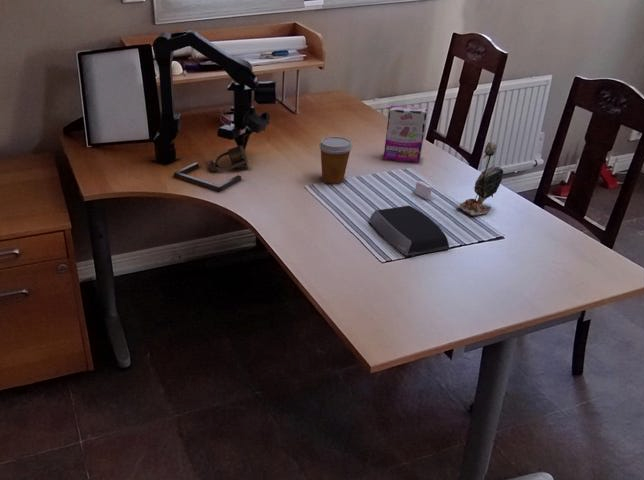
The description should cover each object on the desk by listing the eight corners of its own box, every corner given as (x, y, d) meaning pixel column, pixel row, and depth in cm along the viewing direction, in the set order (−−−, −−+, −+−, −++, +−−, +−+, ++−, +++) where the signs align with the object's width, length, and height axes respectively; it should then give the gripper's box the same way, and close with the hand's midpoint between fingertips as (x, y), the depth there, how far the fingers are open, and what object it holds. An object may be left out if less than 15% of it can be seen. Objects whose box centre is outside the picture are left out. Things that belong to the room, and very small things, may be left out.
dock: (173, 177, 197) (173, 172, 196) (196, 166, 203) (195, 162, 202) (219, 192, 186) (219, 187, 185) (241, 180, 192) (241, 175, 192)
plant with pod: (504, 212, 168) (523, 140, 158) (468, 218, 166) (484, 146, 155) (484, 199, 175) (501, 130, 164) (449, 206, 172) (463, 135, 162)
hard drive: (402, 258, 150) (405, 243, 148) (366, 222, 166) (367, 208, 164) (451, 250, 153) (455, 235, 150) (411, 215, 169) (413, 201, 166)
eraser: (417, 192, 180) (419, 180, 178) (430, 198, 177) (432, 186, 175) (414, 193, 180) (416, 181, 178) (426, 199, 176) (428, 187, 174)
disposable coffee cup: (354, 178, 190) (358, 140, 184) (337, 188, 185) (341, 150, 178) (327, 170, 196) (330, 133, 190) (310, 180, 190) (313, 142, 184)
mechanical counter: (248, 159, 192) (252, 141, 199) (206, 154, 194) (212, 136, 201) (246, 178, 197) (250, 160, 204) (206, 173, 199) (212, 155, 206)
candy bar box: (420, 157, 202) (428, 107, 193) (419, 163, 198) (427, 112, 189) (384, 154, 206) (391, 104, 197) (382, 159, 202) (389, 109, 193)
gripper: (245, 116, 185) (244, 166, 193) (281, 101, 197) (279, 148, 205) (215, 109, 191) (216, 158, 200) (252, 95, 203) (252, 141, 211)
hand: (242, 151), depth 204 cm, fingers closed
